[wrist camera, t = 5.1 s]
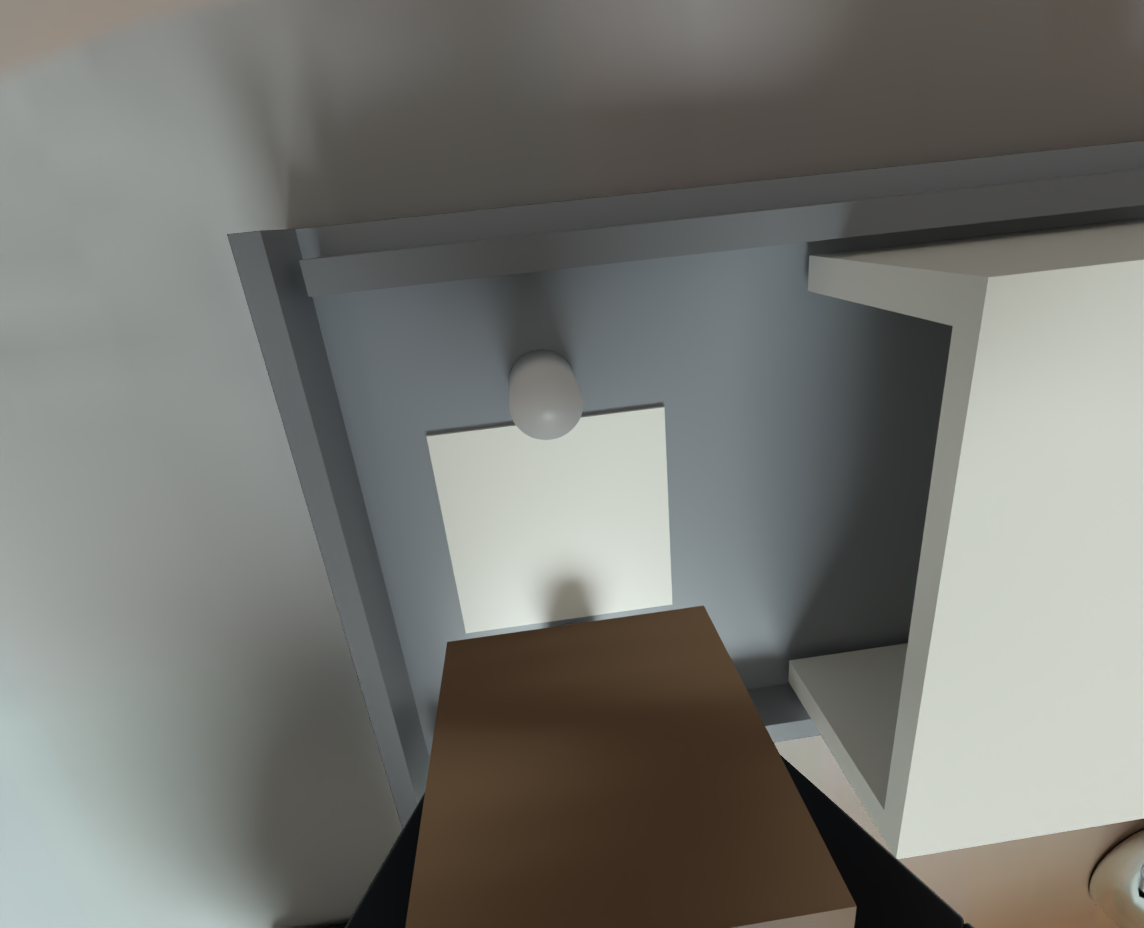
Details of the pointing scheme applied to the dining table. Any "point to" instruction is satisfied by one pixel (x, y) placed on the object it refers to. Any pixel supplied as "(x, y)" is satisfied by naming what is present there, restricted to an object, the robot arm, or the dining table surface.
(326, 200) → the dining table surface
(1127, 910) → the beer glass
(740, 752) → the walnut block
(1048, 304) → the cover
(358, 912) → the robot arm
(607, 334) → the housing base
